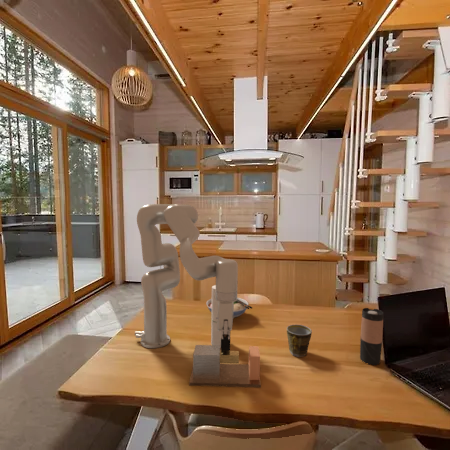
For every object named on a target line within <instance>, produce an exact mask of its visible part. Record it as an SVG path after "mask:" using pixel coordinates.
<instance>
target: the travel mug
mask: <svg viewBox="0 0 450 450" xmlns="http://www.w3.org/2000/svg"><path fill="white" fill-rule="evenodd" d="M360 326H361V327H360V339H359V340H360V342H359V343H360V345H359V347H360V348H359V358H360V361H361V360H362V361H361V362H363V361H364V362H365V363H364V362H363V363H364V364H366V363H368V364H367V365H370V364H372V365H371V366H378V365H380V364H379V363H381V356H382V348H383V347H382V345H383V335H384V334H383V332H384V329H383V328H384V311H383V310H380V309H377V308H374V309H370V308H369V307H365V308H362V311H361V325H360ZM377 364H378V365H377Z"/></svg>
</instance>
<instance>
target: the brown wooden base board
mask: <svg viewBox="0 0 450 450" xmlns="http://www.w3.org/2000/svg"><path fill="white" fill-rule="evenodd" d="M220 351H221V347H220V345H212V344H195V347H194V350H193V355H192V357H193V359H192V360H193V361H192V369H191V373H190V378H189V382H188V385H189V386H195V387H196V386H198V387H200V386H201V387H229V388H230V387H234V388H235V387H237V388H261V385H262V384H261V379H260V378H259V380H250V377H249V363H248V364H243V363H242V364H241V363H239V364H230V363H220Z"/></svg>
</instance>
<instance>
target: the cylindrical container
mask: <svg viewBox="0 0 450 450" xmlns="http://www.w3.org/2000/svg"><path fill="white" fill-rule="evenodd" d="M211 299H212V313H211V321H210V322H211V325H210V327H211V329H210V330H211V331H210V332H211V334H210V335H211V336H210V338H211V339H210V341H211V342H210V345H220V348H221V338H222V330H219V331H218V301H216V284H214V285H212V286H211Z"/></svg>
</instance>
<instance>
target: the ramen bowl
mask: <svg viewBox="0 0 450 450" xmlns="http://www.w3.org/2000/svg"><path fill="white" fill-rule="evenodd" d="M249 304H250V303H249V302H248V301H247V300H246V299H243V298H241V297H237V301H235V302H234V309H233V319H234V318H237V317H240V316H242V315H243V314H244V313H245V312H246V310H250V309H253V307H252V306H250V305H249ZM206 306H207V308H208V310H209V312H211V314H212V298H210V299H208V300H207V301H206Z"/></svg>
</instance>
